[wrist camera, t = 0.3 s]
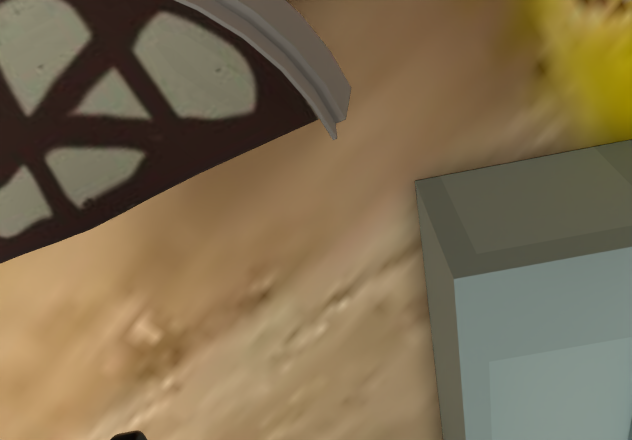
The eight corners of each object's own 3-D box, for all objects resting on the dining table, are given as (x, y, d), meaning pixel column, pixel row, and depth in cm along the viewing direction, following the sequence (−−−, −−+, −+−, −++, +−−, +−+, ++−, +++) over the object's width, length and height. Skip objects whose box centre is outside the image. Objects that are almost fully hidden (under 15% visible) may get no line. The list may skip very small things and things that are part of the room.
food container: (232, -212, 17) (192, -246, 8) (324, -2, 20) (363, 127, 11) (-116, -9, 19) (-424, 126, 10) (17, 149, 22) (-137, 349, 14)
